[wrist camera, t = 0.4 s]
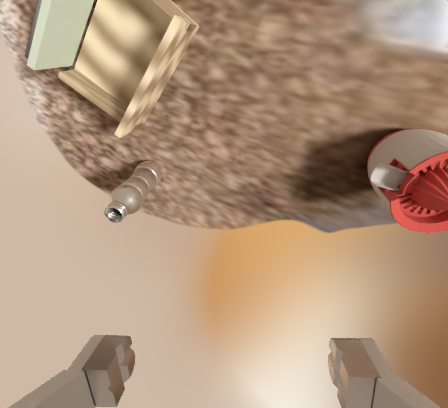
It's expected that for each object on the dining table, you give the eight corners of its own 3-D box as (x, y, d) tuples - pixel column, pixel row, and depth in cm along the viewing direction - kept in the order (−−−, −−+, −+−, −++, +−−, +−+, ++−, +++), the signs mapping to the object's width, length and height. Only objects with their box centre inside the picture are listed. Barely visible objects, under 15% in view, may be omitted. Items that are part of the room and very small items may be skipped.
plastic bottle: (134, 166, 63) (89, 211, 46) (152, 152, 60) (111, 194, 44) (151, 185, 65) (115, 233, 49) (169, 172, 63) (137, 219, 46)
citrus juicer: (368, 111, 50) (424, 145, 33) (455, 126, 49) (555, 168, 33) (338, 179, 58) (370, 233, 42) (411, 192, 58) (473, 252, 41)
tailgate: (95, -54, 39) (51, -80, 31) (108, -42, 40) (68, -65, 31) (61, 58, 48) (20, 61, 40) (72, 65, 49) (33, 70, 41)
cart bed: (117, -49, 41) (69, -81, 31) (199, 26, 45) (181, 21, 35) (76, 69, 52) (30, 75, 41) (145, 120, 56) (120, 138, 46)
